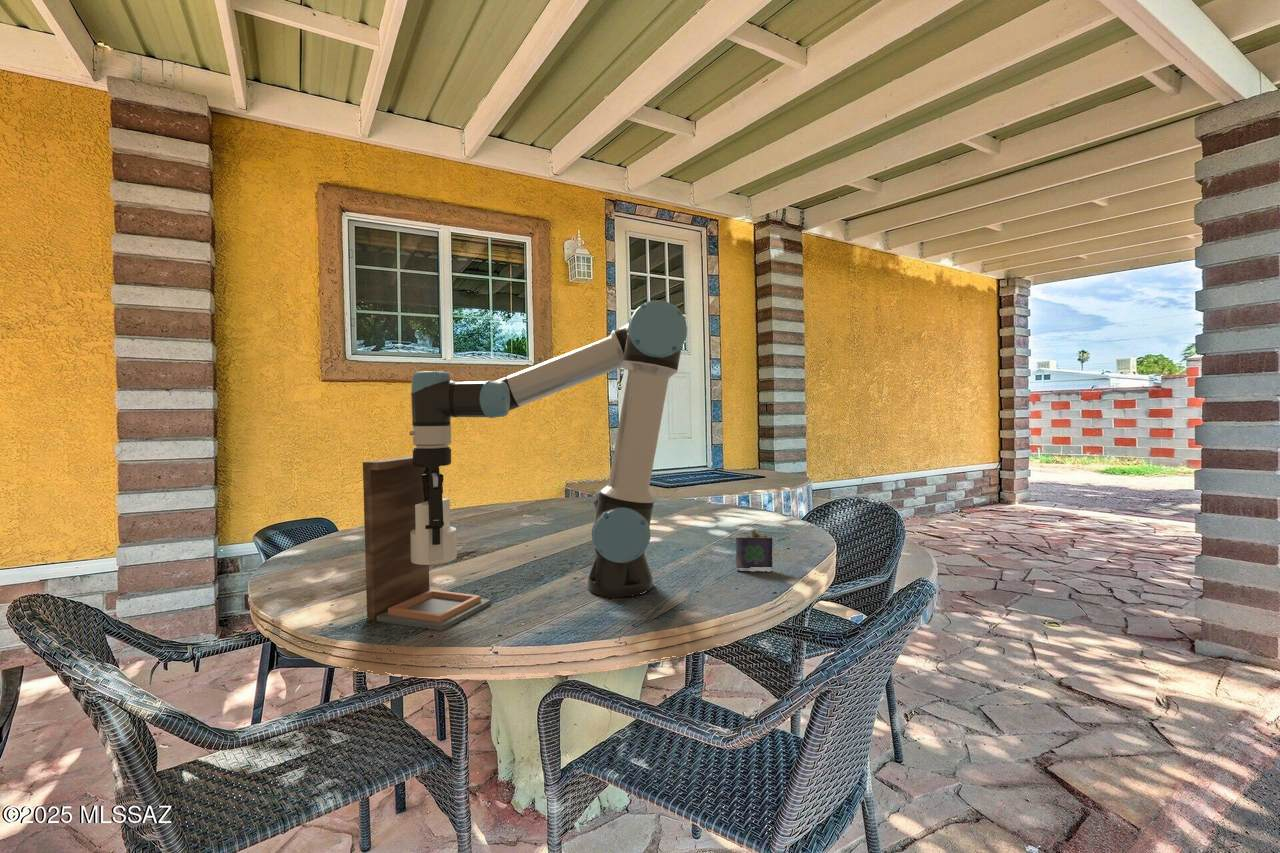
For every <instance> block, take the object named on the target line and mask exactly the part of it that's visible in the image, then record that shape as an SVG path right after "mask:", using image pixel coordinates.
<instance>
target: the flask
mask: <svg viewBox="0 0 1280 853" xmlns="http://www.w3.org/2000/svg"><path fill="white" fill-rule="evenodd" d="M756 531H757V528H754V529H750V535H737V536H735V568H736V567H737V568H750V567H772V568H773V537H772V536H770V535H766V534H764V533H763V534H762V533H761V534H760V533H758V532H756Z"/></svg>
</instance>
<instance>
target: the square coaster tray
mask: <svg viewBox="0 0 1280 853" xmlns="http://www.w3.org/2000/svg"><path fill="white" fill-rule="evenodd" d="M429 590H430V591H428V592H425V593H423V594H421V595H418V596H416V597H414V598H411V599H409V600H407V601H404V602H402V603H400V604H397V605H395V606H393V607H390V608H388V611H387V612H385V613H382V614H380V615H378V616H377V620H376V622H380V623H381V622H382V623H387V624H395V625H401V626H406V625H407V626H408V627H412V626H415V627H414V628H419V627H422V628H421V629H425V628H428V629H427V630H431V629H434V630H433V631H437V632H442V631H444V630H447V629H448V628H449V627H451V626H454V625H456V624H457V623H459V622H461V621H463V620H465V619H467V618H468V617H470V616H472V615H474V614H475V613H476V614H477V613H478V612H480V611H481V610H483V609H486V607H489V606H491V605H492V601H491V599H487V598H481V597H482V595H477V594H470V593H461V592H454V591H453V592H452V591H447V590H440V589H439V590H437V589H429ZM407 626H406V627H407Z"/></svg>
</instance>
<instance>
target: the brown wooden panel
mask: <svg viewBox="0 0 1280 853" xmlns="http://www.w3.org/2000/svg"><path fill="white" fill-rule="evenodd" d="M425 470H426V467H418V466H414V465H413V455H412V456H402V457H393V458H386V459H385V458H384V459H379V460H378V459H377V460H375V459H374V460H368V461H362V482H363V483H362V484H363V490H362V491H363V516H364V517H363V518H364V520H363V521H364V554H365V556H364V558H365V559H364V560H365V585H366V587H365V591H366V620H368V621H377V616H378V615H380V614H382V613H385V612H387V611H388V608H390V607H393V606H395V605H397V604H400V603H402V602H404V601H407V600H409V599H411V598H414V597H416V596H418V595H421V594H423V593H425V592H428V591H430V590H431V589H430V565H420V564H414V563H412V562H411V540H410V532H411V531H412V530H414V529H416V521H415V505H416V504H420V503H423V502H424V492H423V483H422V474H423V472H424V471H425Z"/></svg>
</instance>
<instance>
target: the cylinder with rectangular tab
mask: <svg viewBox="0 0 1280 853" xmlns="http://www.w3.org/2000/svg"><path fill="white" fill-rule="evenodd" d="M442 499H443V521H444V526H443V560H435V561H429V543H428V529H425V526H426V525H429V505H428V501H426V502H423V503H420V504H416V505H415V521H416V529H414V530H412V531H411V532H410V540H411V562H412V563H414V564H420V565H429V566H432V565H441V564H445V563H449V562H452V561H454V560H455V561H456V559H457V556H458V555H457V553H458V552H457V549H458V548H457V527H454V526H451V504H450V503H451V502H450V500H451V498H446V497H442ZM433 521H438V520H433Z"/></svg>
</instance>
